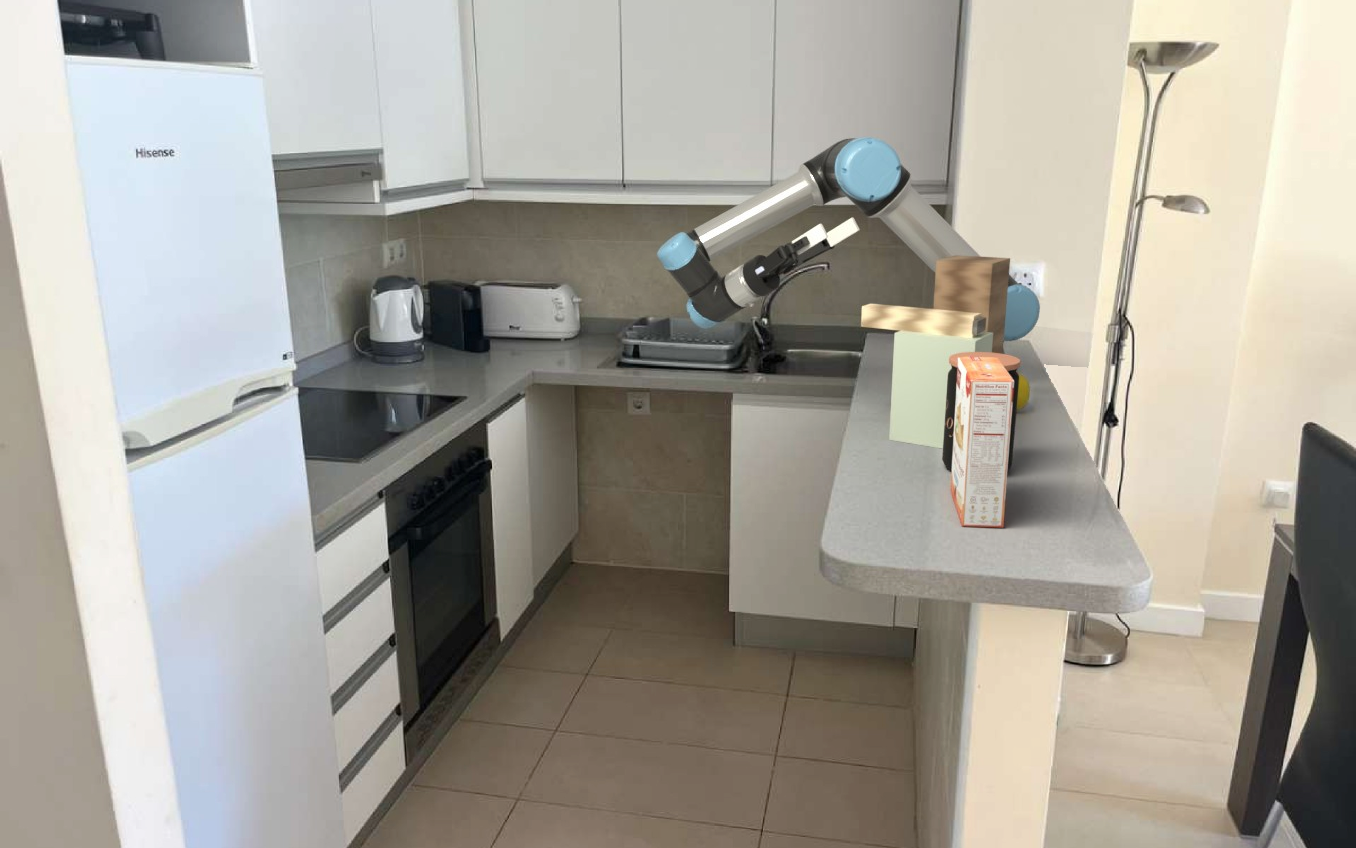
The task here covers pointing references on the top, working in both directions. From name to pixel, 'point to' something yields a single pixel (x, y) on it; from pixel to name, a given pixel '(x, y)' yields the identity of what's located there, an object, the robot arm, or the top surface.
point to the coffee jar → (1006, 360)
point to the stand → (975, 290)
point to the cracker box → (981, 441)
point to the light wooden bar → (923, 320)
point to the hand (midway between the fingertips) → (840, 226)
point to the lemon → (1022, 392)
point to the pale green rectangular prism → (925, 383)
